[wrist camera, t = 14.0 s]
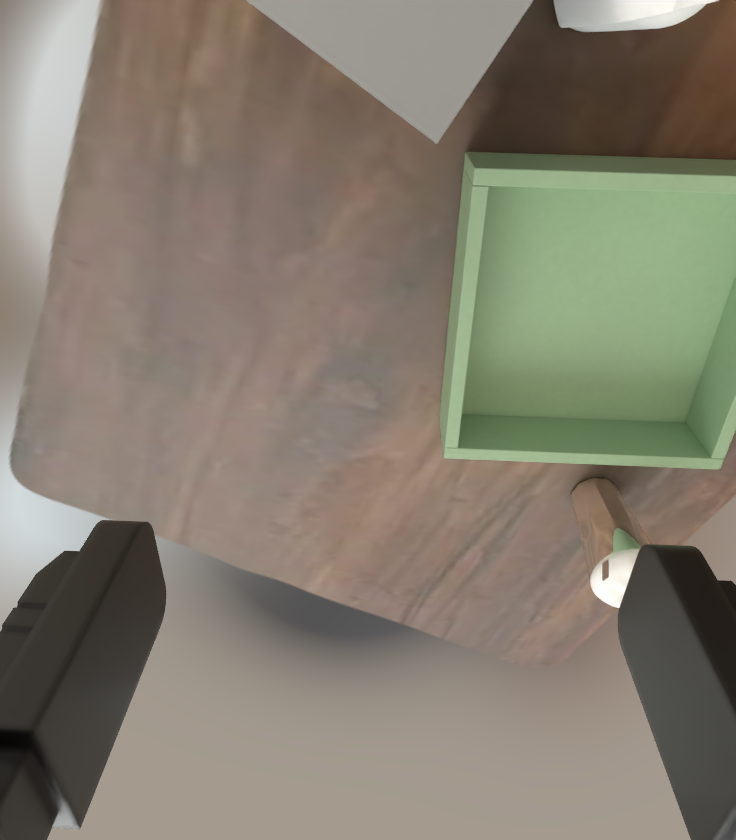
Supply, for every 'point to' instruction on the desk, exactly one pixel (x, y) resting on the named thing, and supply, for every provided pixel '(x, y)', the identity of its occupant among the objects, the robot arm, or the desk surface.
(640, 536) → the milkshake
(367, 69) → the icon cube
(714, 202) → the tote
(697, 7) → the photo printer
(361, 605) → the desk surface
